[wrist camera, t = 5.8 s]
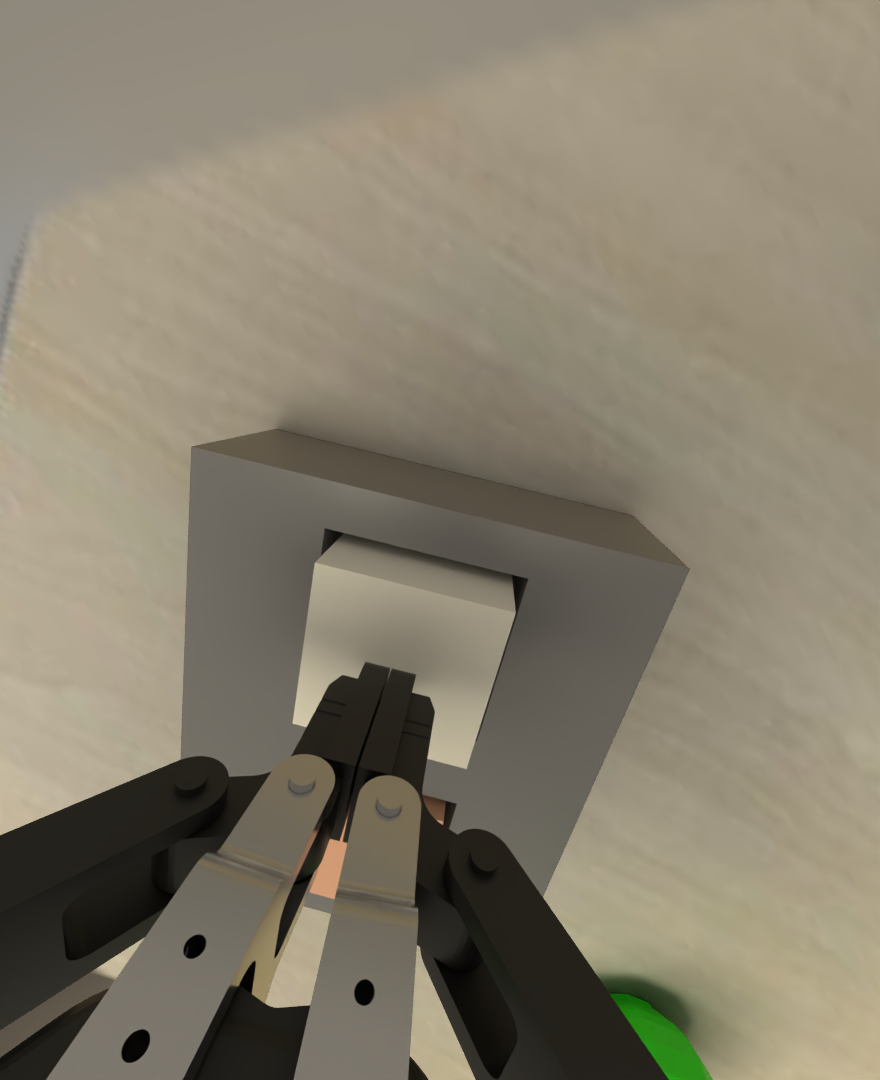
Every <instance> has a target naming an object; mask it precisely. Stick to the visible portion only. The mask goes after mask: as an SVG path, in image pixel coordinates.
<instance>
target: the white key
mask: <svg viewBox="0 0 880 1080" xmlns="http://www.w3.org/2000/svg"><path fill="white" fill-rule="evenodd" d="M515 614H516V610H515V600H514V591H513V581H512V575H511V574H507V573H503V572H499V571H495V570H491V569H487V568H483V567H479V566H475V565H471V564H467V563H463V562H459V561H455V560H451V559H447V558H443V557H439V556H435V555H431V554H426V553H422V552H418V551H414V550H410V549H406V548H402V547H398V546H394V545H390V544H386V543H382V542H378V541H374V540H370V539H366V538H362V537H358V536H354V535H350V534H346V533H344V534H343V535H342V536H341V537H340V538H339V539H338V540H337V541H336V542H335V543H334V544H333V545H332V546H331V547H330V548H329V549H328V550H327V551H326V552H325V553H324V554H323V555H322V556H321V557H320V558H319V559H318V560H317V561H316V562H315V565H314V572H313V579H312V586H311V593H310V601H309V608H308V615H307V622H306V629H305V637H304V644H303V651H302V658H301V666H300V673H299V680H298V687H297V694H296V702H295V709H294V716H293V723H292V724H296V725H300V726H304V727H307V725H308V724H309V722H310V720H311V718H312V716H313V714H314V712H315V711H316V708H317V707H318V705H319V703H320V701H321V700H322V697H323V695H324V693H325V691H326V690H327V688H328V686H329V684H331V683H332V682H333V681H335V680H336V679H337V678H339V677H340V676H342V675H345V676H349V677H353V678H356V679H358V677H359V675H360V672H361V670H362V668H363V666H364V664H365V662H369V663H373V664H377V665H381V666H385V667H389V668H390V672H391V670H392V668H393V669H397V670H401V671H405V672H409V673H413V674H416V678H415V682H414V686H413V690H412V693H416V694H420V695H424V696H427V697H430V699H431V702H432V705H433V707H434V710H435V715H434V721H433V727H432V733H431V739H430V745H429V751H428V757H427V759H430V760H434V761H437V762H441V763H445V764H449V765H453V766H457V767H460V768H464V769H467V766H468V763H469V759H470V756H471V753H472V750H473V747H474V744H475V740H476V737H477V734H478V731H479V728H480V725H481V721H482V718H483V715H484V712H485V709H486V706H487V702H488V699H489V696H490V693H491V690H492V687H493V683H494V680H495V677H496V674H497V671H498V668H499V665H500V661H501V658H502V655H503V652H504V649H505V646H506V642H507V639H508V636H509V633H510V630H511V627H512V623H513V620H514V617H515ZM390 672H389V675H390ZM388 678H389V677H388Z"/></svg>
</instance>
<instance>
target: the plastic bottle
mask: <svg viewBox="0 0 880 1080" xmlns="http://www.w3.org/2000/svg"><path fill="white" fill-rule="evenodd" d="M609 994H610V995H611V997H612V998H613V999H614V1001H615V1002H616V1004H617V1005H618V1007H619V1008H620V1010H621V1011H622V1012H623V1014H624V1015H625V1017H626V1018H627V1020H628V1021H629V1023H630V1024H631V1025H632V1027H633V1028H634V1030H635V1031H636V1033H637V1034H638V1036H639V1037H640V1038H641V1040H642V1041H643V1043H644V1044H645V1046H646V1047H647V1049H648V1050H649V1051H650V1053H651V1054H652V1056H653V1057H654V1059H655V1060H656V1062H657V1063H658V1064H659V1066H660V1067H661V1069H662V1070H663V1072H664V1073H665V1075H666V1076H667V1077H668V1079H669V1080H712V1078H711V1076H710V1075H709V1073H708V1071H707V1070H706V1068H705V1066H704V1065H703V1063H702V1061H701V1060H700V1058H699V1057H698V1055H697V1053H696V1052H695V1050H694V1049H693V1047H692V1045H691V1044H690V1042H689V1041H688V1039H687V1037H686V1036H685V1035H684V1034H683V1033H682V1032H681V1031H680V1030H679V1029H678V1028H677V1027H676V1026H675V1025H674V1024H673V1023H672V1022H670V1021H669V1020H668V1019H666V1018H665V1017H664V1016H662V1015H661V1014H660V1013H659V1012H658V1011H655V1010H653V1008H652V1006H651V1005H650V1003H648V1002H646V1001H643V1000H641V999H639V998H636V997H634V996H632V995H629V994H611V993H609Z"/></svg>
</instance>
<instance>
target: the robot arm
mask: <svg viewBox="0 0 880 1080" xmlns="http://www.w3.org/2000/svg"><path fill="white" fill-rule="evenodd" d="M389 672H390V668H389V667H385V666H381V665H377V664H373V663H369V662H365V664H364V666H363V668H362V670H361V672H360V675H359V677H358V679H356V678H353V677H349V676H345V675H342V676H340V677H339V678H337V679H336V680H335V681H333V682H332V683H331V684H329V686H328V688H327V690H326V691H325V693H324V695H323V697H322V700H321V701H320V703H319V705H318V707H317V708H316V711H315V712H314V714H313V716H312V718H311V720H310V722H309V724H308V725H307V727H306V729H305V731H304V733H303V735H302V737H301V739H300V741H299V742H298V744H297V746H296V748H295V750H294V752H293V754H292V755H291V757H288V758H286V759H284V760H283V761H281V762H280V763H279V764H278V765H276V767H275V768H274V769H273V770H272V771H271V772H268V773H265V774H261V775H254V776H231V777H229V774H228V771H227V769H226V767H225V766H224V764H223V763H221V762H220V761H218V760H217V759H214V758H211V757H206V756H194V757H189V758H185V759H182V760H179V761H176V762H174V763H172V764H169V765H167V766H165V767H162V768H160V769H157V770H155V771H153V772H150V773H148V774H146V775H143V776H141V777H138V778H136V779H134V780H131V781H129V782H126V783H124V784H122V785H119V786H117V787H115V788H112V789H110V790H107V791H105V792H103V793H100V794H98V795H95V796H93V797H91V798H88V799H86V800H84V801H81V802H79V803H76V804H74V805H72V806H69V807H67V808H64V809H62V810H60V811H57V812H55V813H53V814H50V815H48V816H45V817H43V818H41V819H38V820H36V821H33V822H31V823H29V824H26V825H24V826H22V827H19V828H17V829H14V830H12V831H10V832H7V833H5V834H2V835H0V1030H1V1029H3V1028H4V1027H6V1026H7V1025H9V1024H11V1023H12V1022H14V1021H15V1020H17V1019H18V1018H20V1017H21V1016H23V1015H24V1014H26V1013H28V1012H29V1011H31V1010H32V1009H34V1008H35V1007H37V1006H38V1005H40V1004H42V1003H43V1002H45V1001H46V1000H48V999H49V998H51V997H52V996H54V995H55V994H57V993H59V992H60V991H62V990H63V989H65V988H66V987H68V986H69V985H71V984H72V983H74V982H76V981H77V980H79V979H80V978H82V977H83V976H85V975H87V974H88V973H90V972H91V971H93V970H94V969H96V968H97V967H99V966H101V965H102V964H104V963H105V962H107V961H108V960H110V959H111V958H113V957H115V956H116V955H118V954H119V953H121V952H122V951H124V950H125V949H127V948H128V947H130V946H132V945H133V944H135V943H136V942H138V941H139V940H141V939H142V938H144V937H145V938H144V939H143V941H142V942H141V944H140V945H139V947H138V948H137V950H136V951H135V952H134V954H133V955H132V957H131V958H130V960H129V961H128V962H127V964H126V965H125V967H124V968H123V970H122V971H121V973H120V974H119V975H118V977H117V978H116V980H115V981H114V983H113V984H112V986H111V987H110V988H109V989H106V990H104V991H102V992H100V993H98V994H96V995H93V996H92V997H89V998H88V999H86V1000H84V1001H83V1002H81V1003H79V1004H77V1005H75V1006H74V1007H72V1008H71V1009H69V1010H68V1011H66V1012H64V1013H63V1014H62V1015H60V1016H58V1017H57V1018H56V1019H54V1020H53V1021H51V1022H50V1023H49V1024H47V1025H46V1026H44V1027H43V1028H42V1029H40V1030H39V1031H37V1032H36V1033H34V1034H33V1035H32V1036H30V1037H29V1038H27V1039H26V1040H25V1041H23V1042H22V1043H20V1044H19V1045H18V1046H16V1047H15V1048H13V1049H12V1050H11V1051H9V1052H8V1053H6V1054H5V1055H4V1056H2V1057H1V1058H0V1080H428V1078H427V1077H426V1075H425V1074H424V1073H423V1071H422V1070H421V1069H420V1068H419V1066H418V1065H417V1064H416V1063H415V1061H414V1060H413V1059H412V1058H411V1057H410V1041H411V1026H412V1010H413V995H414V980H415V964H416V949H417V945H418V946H420V950H421V956H422V959H423V962H424V965H425V967H426V969H427V971H428V974H429V976H430V978H431V980H432V983H433V985H434V987H435V989H436V992H437V994H438V996H439V998H440V1001H441V1003H442V1005H443V1007H444V1009H445V1012H446V1014H447V1016H448V1018H449V1021H450V1023H451V1025H452V1027H453V1030H454V1032H455V1034H456V1036H457V1039H458V1041H459V1043H460V1045H461V1048H462V1050H463V1052H464V1054H465V1057H466V1059H467V1061H468V1063H469V1066H470V1068H471V1070H472V1072H473V1074H474V1077H475V1079H476V1080H669V1079H668V1077H667V1076H666V1075H665V1073H664V1072H663V1070H662V1069H661V1067H660V1066H659V1064H658V1063H657V1062H656V1060H655V1059H654V1057H653V1056H652V1054H651V1053H650V1051H649V1050H648V1049H647V1047H646V1046H645V1044H644V1043H643V1041H642V1040H641V1038H640V1037H639V1036H638V1034H637V1033H636V1031H635V1030H634V1028H633V1027H632V1025H631V1024H630V1023H629V1021H628V1020H627V1018H626V1017H625V1015H624V1014H623V1012H622V1011H621V1010H620V1008H619V1007H618V1005H617V1004H616V1002H615V1001H614V999H613V998H612V997H611V995H610V994H609V992H608V991H607V989H606V988H605V986H604V985H603V984H602V982H601V981H600V979H599V978H598V976H597V975H596V973H595V972H594V971H593V969H592V968H591V966H590V965H589V963H588V962H587V960H586V959H585V958H584V956H583V955H582V953H581V952H580V950H579V949H578V947H577V946H576V945H575V943H574V942H573V940H572V939H571V937H570V936H569V935H568V933H567V932H566V930H565V929H564V927H563V926H562V924H561V923H560V922H559V920H558V919H557V917H556V916H555V914H554V913H553V911H552V910H551V909H550V907H549V906H548V904H547V903H546V901H545V900H544V898H543V897H542V896H541V894H540V893H539V891H538V890H537V888H536V887H535V885H534V884H533V883H532V881H531V880H530V878H529V877H528V875H527V874H526V872H525V871H524V870H523V868H522V867H521V865H520V864H519V862H518V861H517V859H516V858H515V857H514V855H513V854H512V852H511V851H510V849H509V848H508V847H507V845H506V844H505V843H504V842H503V841H502V840H501V839H500V838H499V837H497V836H496V835H494V834H492V833H491V832H488V831H486V830H482V829H468V830H465V831H463V832H461V833H459V834H456V833H454V832H453V831H451V830H450V829H448V828H446V827H445V826H443V825H442V824H441V823H439V822H438V821H437V820H436V819H435V818H434V817H433V816H432V815H431V814H430V812H429V811H428V809H427V807H426V805H425V803H424V799H423V794H422V789H423V782H424V776H425V770H426V763H427V757H428V751H429V745H430V739H431V733H432V727H433V721H434V715H435V710H434V707H433V705H432V702H431V699H430V697H427V696H424V695H420V694H416V693H412V690H413V686H414V682H415V678H416V674H413V673H409V672H405V671H401V670H397V669H393V668H392V670H391V672H390V675H389ZM388 677H389V678H388ZM347 817H348V818H347ZM346 820H347V823H346ZM345 823H346V828H345V832H344V837H343V842H345V843H347V847H346V852H345V856H344V861H343V865H342V869H341V874H340V878H339V883H338V887H337V891H336V895H335V899H334V904H333V908H332V913H331V917H330V921H329V926H328V930H327V935H326V939H325V943H324V948H323V952H322V957H321V961H320V965H319V970H318V974H317V979H316V983H315V987H314V992H313V996H312V1001H311V1005H310V1006H297V1007H284V1008H273V1007H270V1006H268V1005H266V1004H265V1002H266V999H267V996H268V993H269V989H270V986H271V983H272V980H273V977H274V974H275V972H276V969H277V966H278V964H279V962H280V959H281V957H282V955H283V952H284V950H285V948H286V945H287V943H288V941H289V938H290V936H291V934H292V931H293V929H294V927H295V924H296V922H297V920H298V917H299V915H300V913H301V910H302V908H303V906H304V903H305V901H306V899H307V896H308V894H309V892H310V889H311V887H312V885H313V882H314V880H315V878H316V875H317V872H318V868H319V865H320V864H321V862H322V860H323V857H324V854H325V851H326V848H327V846H328V843H329V840H330V839H333V840H337V841H340V839H341V836H342V832H343V829H344V826H345Z"/></svg>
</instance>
